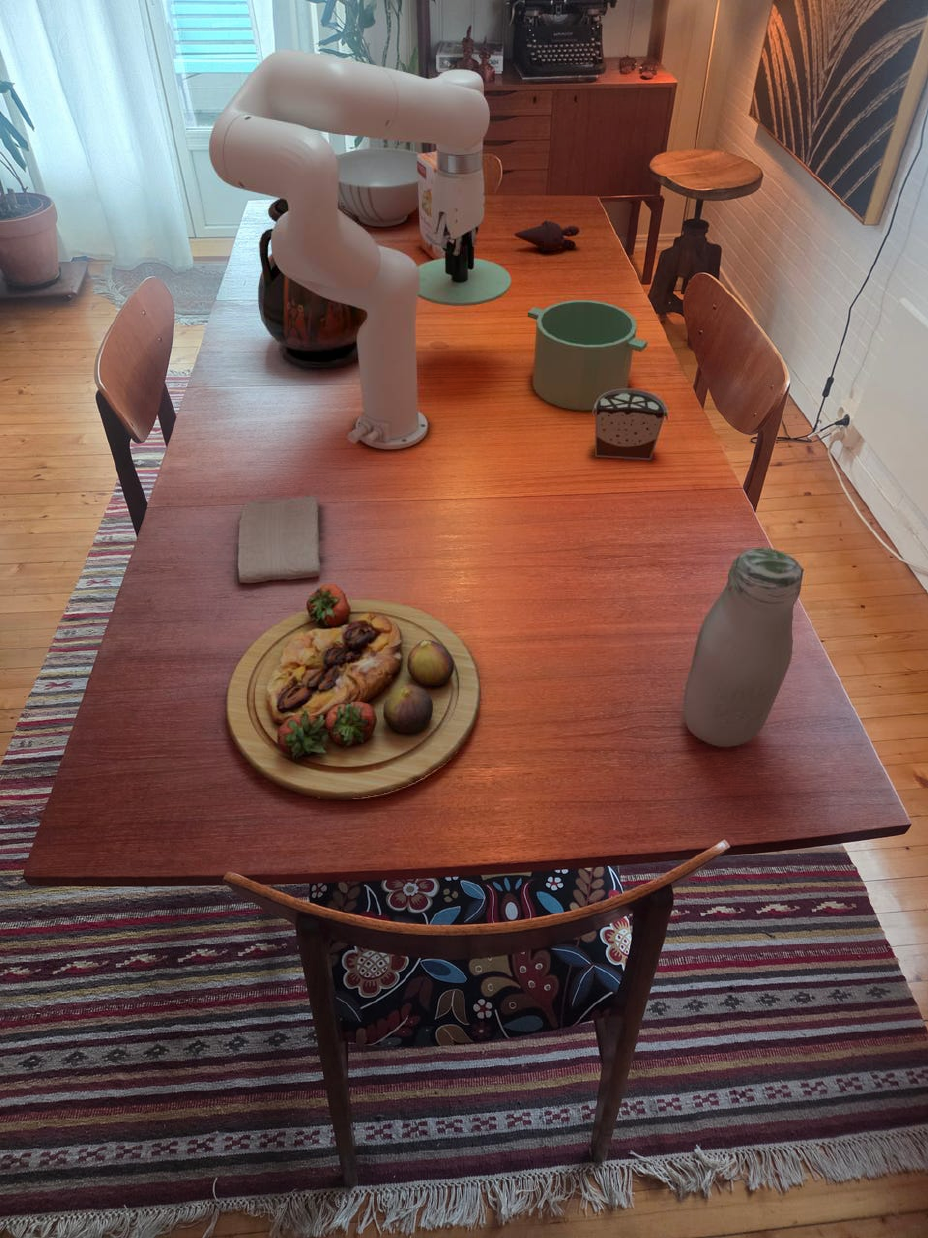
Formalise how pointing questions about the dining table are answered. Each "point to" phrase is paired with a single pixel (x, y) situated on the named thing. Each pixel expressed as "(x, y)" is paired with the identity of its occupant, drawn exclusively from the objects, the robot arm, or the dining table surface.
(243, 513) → the washcloth
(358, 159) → the decorative bowl
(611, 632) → the dining table surface
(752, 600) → the glass bottle
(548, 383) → the pot
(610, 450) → the food container
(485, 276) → the lid
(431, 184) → the cracker box
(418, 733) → the wooden plate
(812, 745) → the dining table surface
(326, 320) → the amphora vase
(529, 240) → the icecream
